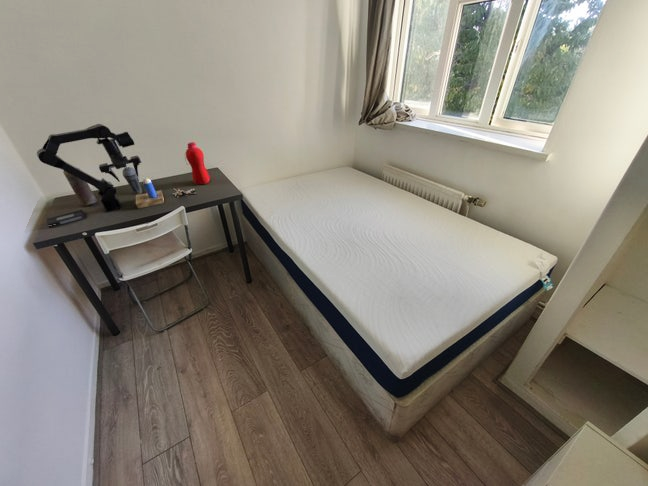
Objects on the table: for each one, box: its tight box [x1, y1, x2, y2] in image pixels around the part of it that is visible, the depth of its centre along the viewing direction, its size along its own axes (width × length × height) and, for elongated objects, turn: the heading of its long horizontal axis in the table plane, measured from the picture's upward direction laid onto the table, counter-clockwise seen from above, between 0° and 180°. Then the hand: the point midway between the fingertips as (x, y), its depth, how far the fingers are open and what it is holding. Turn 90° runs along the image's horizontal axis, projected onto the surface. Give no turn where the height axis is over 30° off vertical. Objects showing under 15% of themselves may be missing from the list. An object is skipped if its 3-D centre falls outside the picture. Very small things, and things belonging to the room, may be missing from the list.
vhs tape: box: [46, 209, 85, 229], centre depth 139 cm, size 8×14×2 cm, turn 129°
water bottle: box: [184, 141, 211, 186], centre depth 169 cm, size 9×11×25 cm
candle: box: [62, 167, 98, 207], centre depth 148 cm, size 8×7×20 cm
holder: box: [135, 189, 165, 209], centre depth 155 cm, size 13×12×3 cm
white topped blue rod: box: [142, 177, 157, 198], centre depth 152 cm, size 4×4×14 cm
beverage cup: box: [122, 164, 143, 195], centre depth 160 cm, size 7×7×20 cm
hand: (128, 178), depth 149 cm, fingers open, 9 cm apart
